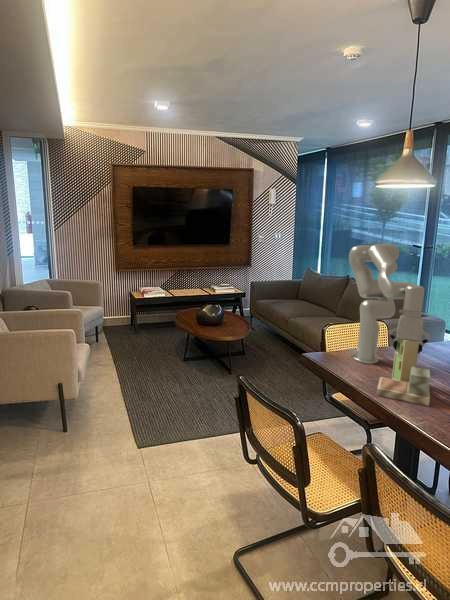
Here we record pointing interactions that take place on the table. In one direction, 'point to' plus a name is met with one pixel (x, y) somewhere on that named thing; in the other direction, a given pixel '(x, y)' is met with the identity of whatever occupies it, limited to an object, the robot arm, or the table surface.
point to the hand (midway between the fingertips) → (407, 351)
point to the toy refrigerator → (404, 359)
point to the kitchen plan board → (407, 387)
